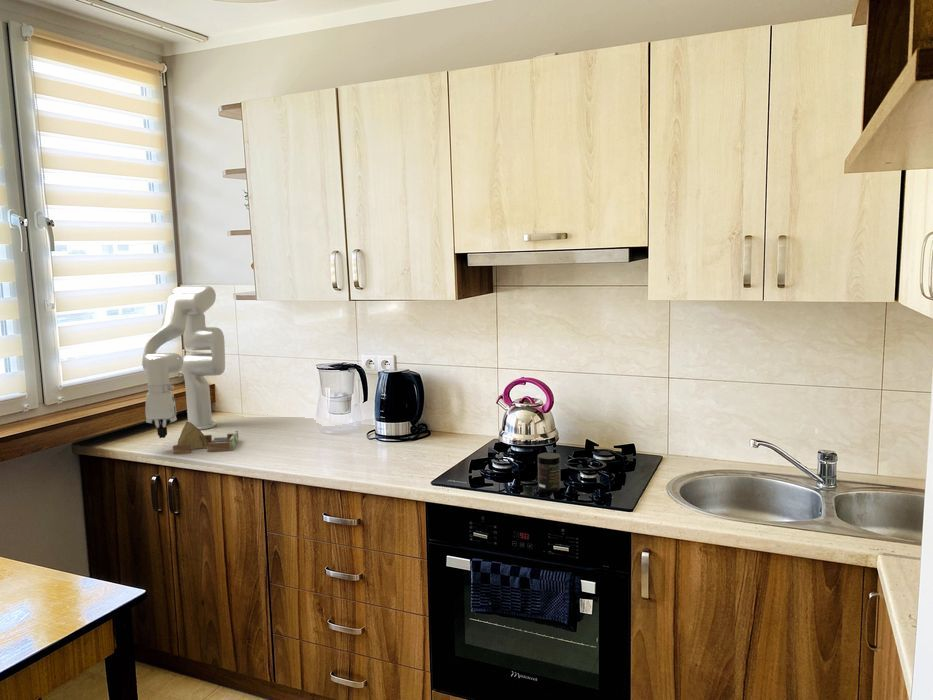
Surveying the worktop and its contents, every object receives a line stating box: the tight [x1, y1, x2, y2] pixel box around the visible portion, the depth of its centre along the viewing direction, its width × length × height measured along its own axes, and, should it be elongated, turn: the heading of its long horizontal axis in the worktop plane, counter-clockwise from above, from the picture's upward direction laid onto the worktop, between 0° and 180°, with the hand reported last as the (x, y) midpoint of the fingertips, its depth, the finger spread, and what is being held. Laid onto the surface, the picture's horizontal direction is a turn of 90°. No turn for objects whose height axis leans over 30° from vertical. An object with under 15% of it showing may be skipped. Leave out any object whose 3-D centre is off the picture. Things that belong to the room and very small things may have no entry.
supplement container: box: [537, 452, 561, 493], centre depth 213 cm, size 7×7×10 cm
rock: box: [177, 421, 208, 450], centre depth 269 cm, size 11×9×10 cm
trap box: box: [172, 430, 239, 455], centre depth 273 cm, size 20×21×4 cm
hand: (162, 437), depth 267 cm, fingers closed
